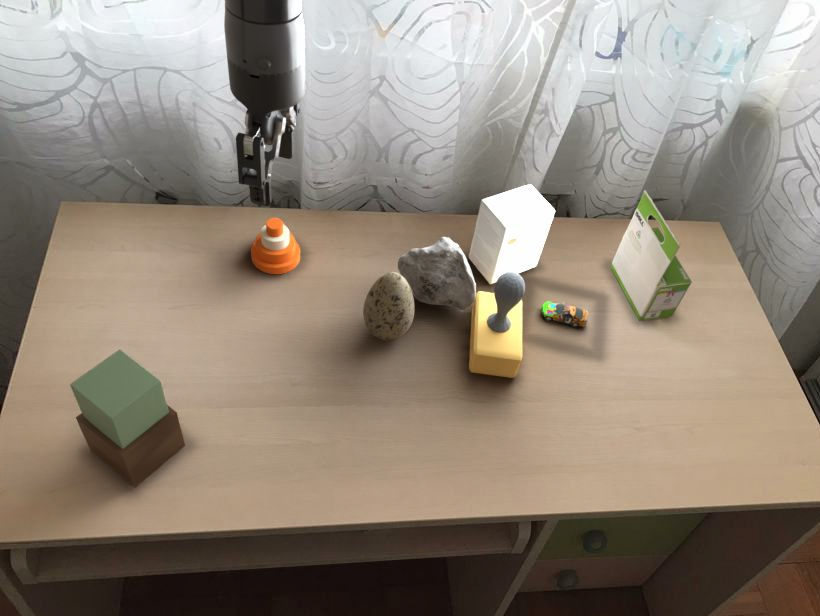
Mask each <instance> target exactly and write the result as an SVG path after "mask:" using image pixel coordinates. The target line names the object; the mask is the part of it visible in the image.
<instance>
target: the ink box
mask: <svg viewBox="0 0 820 616" xmlns="http://www.w3.org/2000/svg"><path fill="white" fill-rule="evenodd" d="M642 193H643V194H642V196H641V198H640V200H639V203H638V205H637V206H636V209H635V211H634V212H633V213H634V214H633V216H632V218H631V219H630V222H629V224H628V226H627V228H626V231H625V232H624V233H623V236H622V239H621V241H620V243H619V244H618V248H617V250H616V253H615V254H614V257H613V259H612V261H611V263H610V265H609V266H610V269H611V271H612V273H613V274H614V276H615V278H616V280H617V282H618V284H619V286H620V288H621V290H622V292H623V293H624V295H625V297H626V299H627V301H628V303H629V304H630V306H631V309H632V310H633V312H634V315H635V316H636V319H637V320H638V321H649V320H656V319H657V320H659V319H665V318H668V317H673V316H674V314H675V312H676V310H677V309H678V307H679V306H680V304H681V302H682V300H683V298H684V297H685V295H686V293H687V292H688V290H689V288H690V286H691V284H692V281H693V280H692V279H691V278H690V276H689V274H688V273H687V271H686V269H685V268H684V266H683V265H682V262H681V261H680V260H679V258H678V256H677V255H676V254H677V252H678V251H679V249H680V247H681V243H680V241H679V240H678V239H677V237H676V235H675V234H674V233H673V231H672V229H671V228H670V226H669V225H668V222H667V221H666V220H665V218H664V216H663V214H662V213H661V212H660V210H659V209H658V207H657V205H656V204H655V202H654V201H653V199H652V198H651V196H650V194H649V193H648V192H647V190H646V189H644V191H643V192H642ZM650 216H652V217H653V218H654V219H655V220H656V221H657V222H658V223H659V226H660V227H651V225H650V224H649V217H650ZM660 228H661V229H660Z"/></svg>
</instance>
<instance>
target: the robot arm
mask: <svg viewBox="0 0 820 616" xmlns="http://www.w3.org/2000/svg"><path fill="white" fill-rule="evenodd" d="M303 4H304V0H224V18H223V19H224V21H223V22H224V23H223V27H224V29H223V30H224V39H225V49H226V59H227V70H228V71H227V72H228V80H229V89H230V92H231V94H232V95H233V97H234V98H235V99H236V100H237V101H238V102H239V103H240V104H241V105H242V106H244V107H245V108H246V110H245V111H246V112H245V116H244V126H245V133H244V132H237V134H236V136H235V147H236V158H237V160H236V161H237V163H236V164H237V179H238V180H237V181H238V184H239V185H245V186H248V187H249V189H248V190H249V200H250V202H251V203H252V204H254V205H258V206H264V207H269V206H270V205H271V204H272V201H273V195H272V169H273V165H274V164H273V162H275V161H277V160H278V158H282V159H286V160H291V159H292V158H293V157H294V153H295V147H294V146H295V145H294V144H295V141H294V131H295V129H296V127H297V121H296V119H297V118H296V117H299V116H300V114H301V101H302V100H303V99H304V97H305V95H306V91H307V53H306V52H307V51H306V50H307V47H306V45H307V44H306V40H307V39H306V38H307V37H306V36H307V33H306V23H305V18H304V17H305V16H304V5H303ZM266 146H271V149H270V150H269V151H268V150H266Z"/></svg>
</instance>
